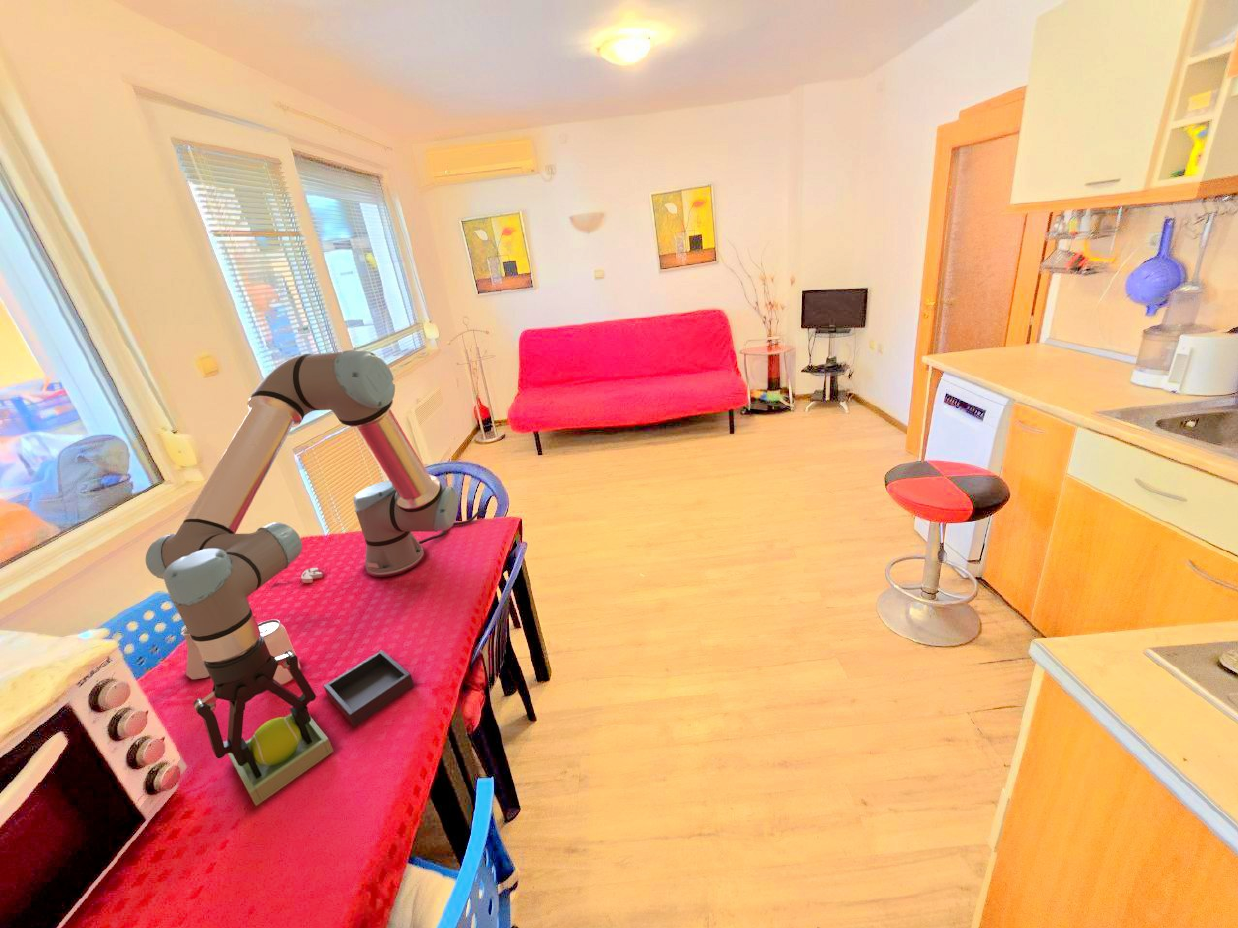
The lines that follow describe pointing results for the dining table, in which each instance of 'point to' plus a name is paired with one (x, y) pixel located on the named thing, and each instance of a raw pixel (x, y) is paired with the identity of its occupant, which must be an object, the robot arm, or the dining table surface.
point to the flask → (194, 660)
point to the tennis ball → (275, 741)
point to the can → (277, 646)
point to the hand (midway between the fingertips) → (282, 754)
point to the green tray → (284, 765)
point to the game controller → (310, 575)
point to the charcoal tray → (368, 687)
